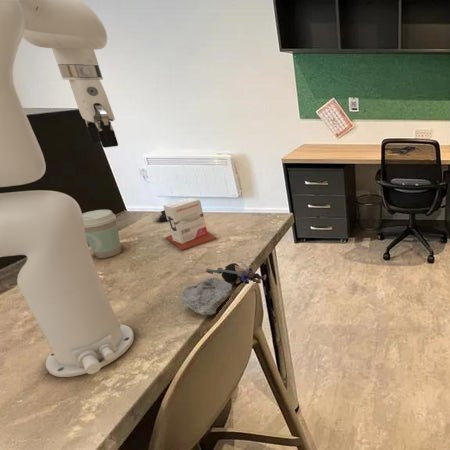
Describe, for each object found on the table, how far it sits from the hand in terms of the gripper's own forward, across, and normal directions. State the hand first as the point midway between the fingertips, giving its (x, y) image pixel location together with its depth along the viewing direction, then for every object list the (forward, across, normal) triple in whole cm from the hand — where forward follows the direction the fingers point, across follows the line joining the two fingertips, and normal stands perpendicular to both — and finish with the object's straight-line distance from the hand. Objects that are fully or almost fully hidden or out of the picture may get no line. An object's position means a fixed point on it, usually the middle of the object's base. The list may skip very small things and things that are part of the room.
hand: (105, 143), depth 90 cm
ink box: (+30, -7, -12) cm, 33 cm away
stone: (+27, -41, -3) cm, 49 cm away
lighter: (+29, +15, -16) cm, 36 cm away
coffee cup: (+31, +1, +7) cm, 31 cm away
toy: (+27, -47, -13) cm, 56 cm away
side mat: (+30, -7, -12) cm, 33 cm away
